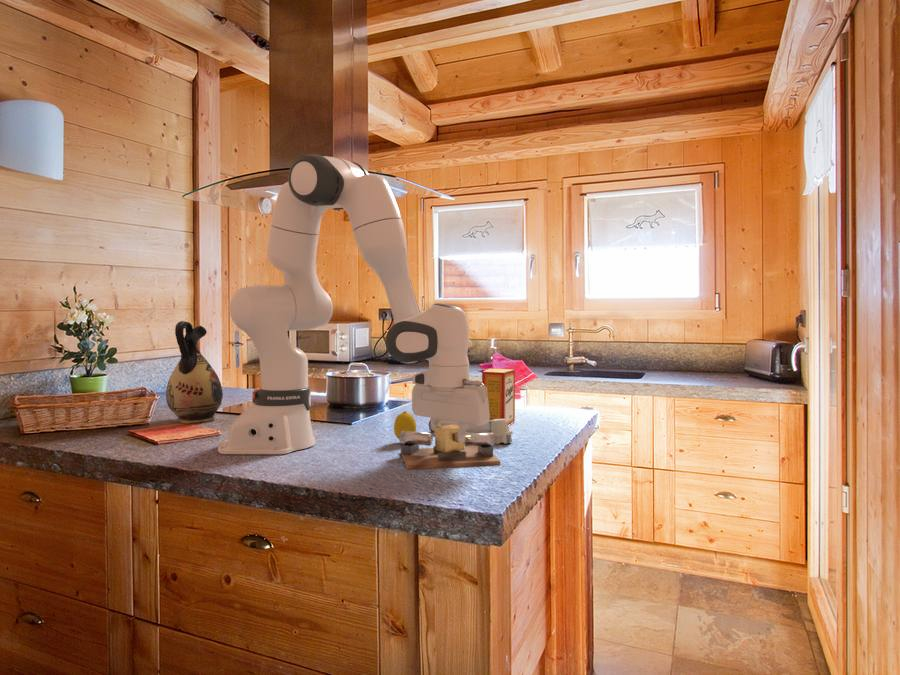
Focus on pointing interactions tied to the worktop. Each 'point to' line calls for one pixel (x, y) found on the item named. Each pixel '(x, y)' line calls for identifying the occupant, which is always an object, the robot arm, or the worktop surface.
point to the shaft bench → (447, 458)
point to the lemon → (404, 423)
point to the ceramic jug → (193, 380)
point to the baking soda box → (500, 393)
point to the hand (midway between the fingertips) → (449, 440)
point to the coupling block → (447, 439)
